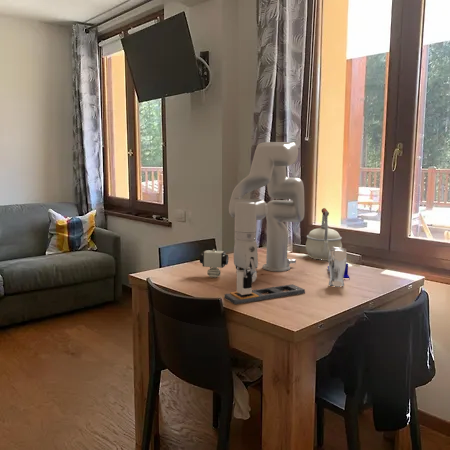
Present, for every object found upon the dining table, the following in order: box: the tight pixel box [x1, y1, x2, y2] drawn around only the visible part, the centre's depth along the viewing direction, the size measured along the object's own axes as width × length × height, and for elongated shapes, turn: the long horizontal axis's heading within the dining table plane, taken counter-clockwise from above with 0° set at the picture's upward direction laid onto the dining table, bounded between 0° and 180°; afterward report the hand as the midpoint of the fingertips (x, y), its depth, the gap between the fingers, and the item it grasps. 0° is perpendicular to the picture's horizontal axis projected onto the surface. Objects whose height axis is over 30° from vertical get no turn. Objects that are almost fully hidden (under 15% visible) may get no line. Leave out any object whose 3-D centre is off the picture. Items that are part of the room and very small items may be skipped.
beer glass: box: [328, 247, 348, 288], centre depth 180 cm, size 7×7×15 cm
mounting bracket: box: [327, 263, 350, 279], centre depth 199 cm, size 18×7×6 cm, turn 173°
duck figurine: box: [248, 267, 258, 284], centre depth 185 cm, size 12×8×11 cm
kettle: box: [305, 207, 343, 261], centre depth 229 cm, size 25×18×25 cm
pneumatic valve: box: [198, 248, 229, 278], centre depth 193 cm, size 6×12×12 cm, turn 77°
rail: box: [224, 283, 306, 305], centre depth 167 cm, size 30×8×2 cm, turn 117°
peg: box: [235, 269, 253, 295], centre depth 162 cm, size 4×4×8 cm
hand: (244, 285), depth 162 cm, fingers closed on peg, 3 cm apart
